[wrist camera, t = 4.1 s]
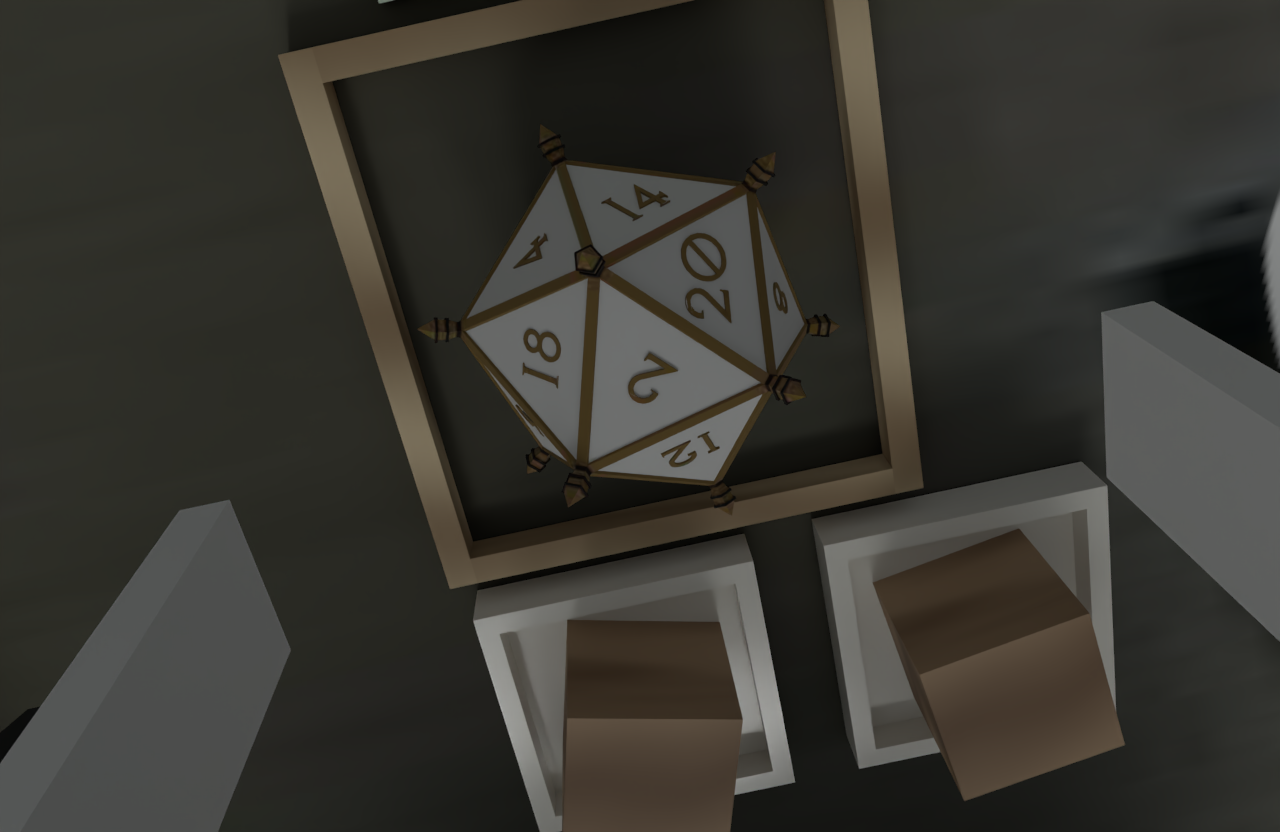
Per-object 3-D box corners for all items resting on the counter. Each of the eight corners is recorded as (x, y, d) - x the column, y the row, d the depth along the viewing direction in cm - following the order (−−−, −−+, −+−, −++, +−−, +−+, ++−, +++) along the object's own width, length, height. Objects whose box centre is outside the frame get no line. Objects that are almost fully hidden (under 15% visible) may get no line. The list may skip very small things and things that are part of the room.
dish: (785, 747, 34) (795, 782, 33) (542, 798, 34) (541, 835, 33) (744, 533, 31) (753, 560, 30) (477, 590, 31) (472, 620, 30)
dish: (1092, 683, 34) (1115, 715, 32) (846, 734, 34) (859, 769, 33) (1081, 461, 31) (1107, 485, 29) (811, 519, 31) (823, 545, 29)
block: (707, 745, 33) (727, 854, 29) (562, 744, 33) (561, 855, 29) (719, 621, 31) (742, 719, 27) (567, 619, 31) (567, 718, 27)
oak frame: (912, 472, 31) (923, 487, 30) (453, 571, 31) (449, 589, 30) (848, -74, 25) (859, -76, 24) (288, 52, 25) (277, 55, 24)
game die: (570, 205, 31) (432, 11, 21) (865, 245, 29) (860, 51, 19) (497, 507, 29) (314, 445, 20) (800, 572, 27) (759, 538, 18)
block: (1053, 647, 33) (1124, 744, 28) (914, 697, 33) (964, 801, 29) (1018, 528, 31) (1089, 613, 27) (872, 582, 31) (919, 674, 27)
